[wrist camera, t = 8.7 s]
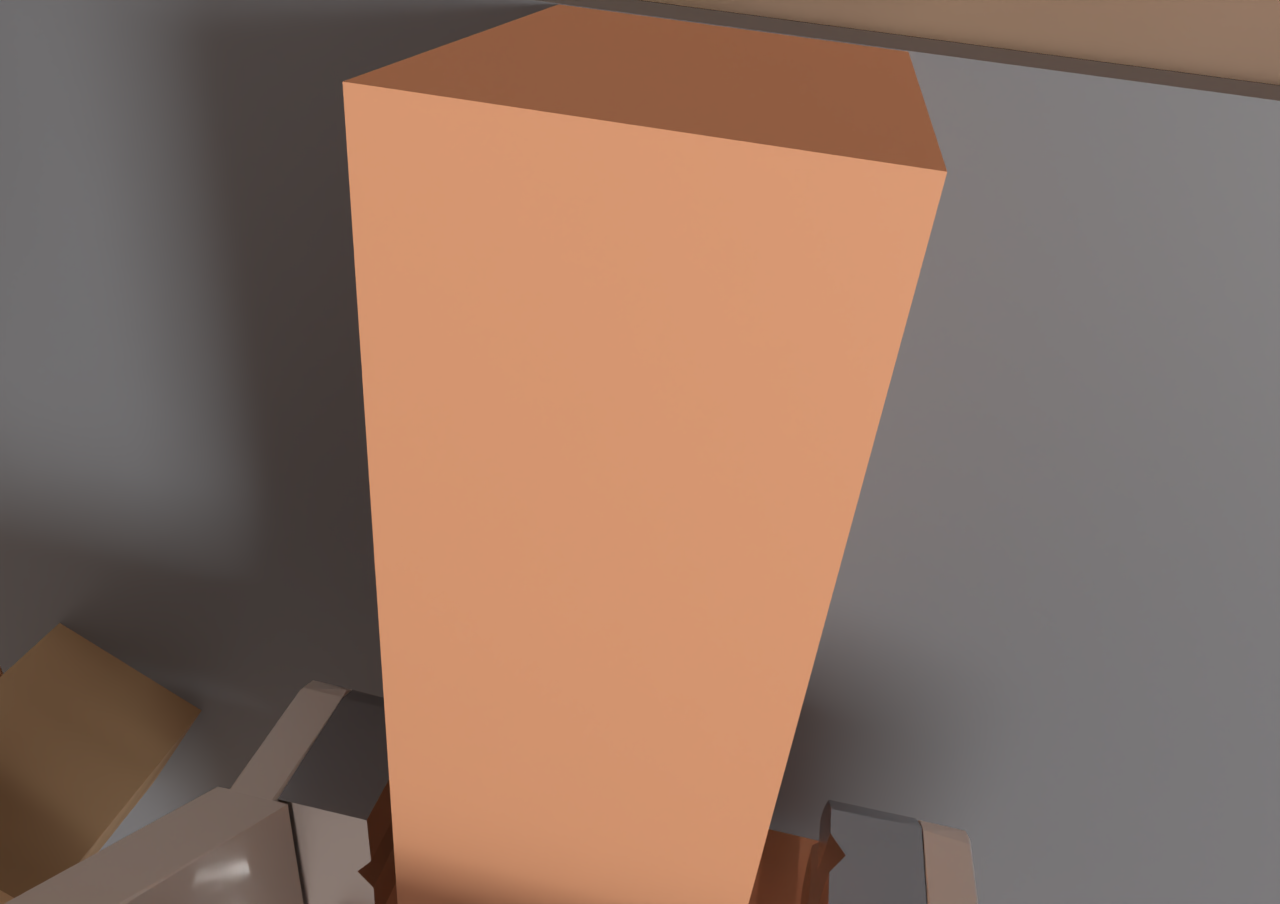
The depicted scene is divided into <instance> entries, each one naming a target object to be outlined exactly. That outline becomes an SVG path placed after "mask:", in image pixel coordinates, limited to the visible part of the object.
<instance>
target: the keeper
mask: <svg viewBox="0 0 1280 904" xmlns="http://www.w3.org/2000/svg"><path fill="white" fill-rule="evenodd" d="M201 711H202V710H200V709H198V708H197V707H195V706H193V705H192V704H190V703H189V702H187V701H185V700H184V699H182V698H180V697H179V696H177V695H176V694H174V693H172V692H171V691H169V690H168V689H166V688H164V687H163V686H161V685H159V684H158V683H156V682H155V681H153V680H151V679H150V678H148V677H147V676H145V675H143V674H142V673H140V672H138V671H137V670H135V669H134V668H132V667H130V666H129V665H127V664H125V663H124V662H122V661H121V660H119V659H117V658H116V657H114V656H113V655H111V654H109V653H108V652H106V651H104V650H103V649H101V648H100V647H98V646H96V645H95V644H93V643H92V642H90V641H88V640H87V639H85V638H83V637H82V636H80V635H79V634H77V633H75V632H74V631H72V630H70V629H69V628H67V627H66V626H64V625H62V624H61V623H59V624H58V625H57V626H56V627H55V628H54V629H52V630H51V631H50V632H49V633H48V634H47V635H46V636H45V637H44V638H43V639H41V640H40V641H39V642H38V643H37V644H36V645H35V646H34V647H33V648H32V649H30V650H29V651H28V652H27V653H26V654H25V655H24V656H23V657H22V658H21V659H19V660H18V661H17V662H16V663H15V664H14V665H13V666H12V667H11V668H10V669H8V670H7V671H6V672H5V673H4V674H3V675H2V676H1V677H0V904H4V903H6V902H8V901H10V900H12V899H13V898H15V897H17V896H19V895H21V894H23V893H24V892H26V891H28V890H30V889H32V888H34V887H35V886H37V885H39V884H41V883H43V882H45V881H46V880H48V879H50V878H52V877H54V876H55V875H57V874H59V873H61V872H63V871H65V870H66V869H68V868H70V867H72V866H74V865H76V864H77V863H79V862H81V861H83V860H85V859H86V858H88V857H90V856H92V855H94V854H96V853H97V852H99V850H100V849H101V848H102V847H103V845H104V844H105V843H106V842H107V840H108V839H109V838H110V837H111V835H112V834H113V833H114V832H115V830H116V829H117V828H118V827H119V825H120V824H121V823H122V822H123V820H124V819H125V818H126V817H127V815H128V814H129V813H130V811H131V810H132V809H133V808H134V806H135V805H136V804H137V803H138V801H139V800H140V799H141V798H142V796H143V795H144V794H145V793H146V791H147V790H148V789H149V788H150V786H151V785H152V784H153V783H154V781H155V780H156V778H157V777H158V775H159V774H160V772H161V771H162V769H163V768H164V766H165V765H166V763H167V762H168V760H169V759H170V757H171V756H172V754H173V753H174V751H175V750H176V748H177V747H178V745H179V744H180V742H181V741H182V739H183V738H184V736H185V735H186V733H187V732H188V730H189V729H190V727H191V726H192V724H193V723H194V721H195V720H196V718H197V717H198V715H199V714H200V712H201Z"/></svg>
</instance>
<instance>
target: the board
mask: <svg viewBox="0 0 1280 904" xmlns="http://www.w3.org/2000/svg"><path fill="white" fill-rule="evenodd" d="M558 4H560V5H567V6H574V7H582V8H589V9H597V10H604V11H611V12H619V13H626V14H634V15H641V16H648V17H656V18H663V19H671V20H678V21H685V22H693V23H700V24H708V25H715V26H723V27H730V28H737V29H745V30H752V31H760V32H767V33H774V34H782V35H789V36H797V37H804V38H811V39H819V40H826V41H834V42H841V43H848V44H856V45H863V46H871V47H878V48H886V49H893V50H900V51H908V52H909V55H910V58H911V61H912V64H913V67H914V70H915V74H916V77H917V80H918V83H919V86H920V89H921V92H922V95H923V98H924V101H925V104H926V108H927V111H928V114H929V117H930V120H931V123H932V126H933V129H934V132H935V135H936V138H937V142H938V145H939V148H940V151H941V154H942V157H943V160H944V163H945V166H946V169H947V175H946V178H945V182H944V186H943V189H942V193H941V197H940V201H939V204H938V208H937V212H936V215H935V219H934V223H933V226H932V230H931V234H930V237H929V241H928V245H927V248H926V252H925V256H924V259H923V263H922V267H921V270H920V274H919V278H918V282H917V285H916V289H915V293H914V296H913V300H912V304H911V307H910V311H909V315H908V318H907V322H906V326H905V329H904V333H903V337H902V340H901V344H900V348H899V351H898V355H897V359H896V362H895V366H894V370H893V374H892V377H891V381H890V385H889V388H888V392H887V396H886V399H885V403H884V407H883V410H882V414H881V418H880V421H879V425H878V429H877V432H876V436H875V440H874V443H873V447H872V451H871V454H870V458H869V462H868V466H867V469H866V473H865V477H864V480H863V484H862V488H861V491H860V495H859V499H858V502H857V506H856V510H855V513H854V517H853V521H852V524H851V528H850V532H849V535H848V539H847V543H846V546H845V550H844V554H843V558H842V561H841V565H840V569H839V572H838V576H837V580H836V583H835V587H834V591H833V594H832V598H831V602H830V605H829V609H828V613H827V616H826V620H825V624H824V627H823V631H822V635H821V638H820V642H819V646H818V650H817V653H816V657H815V661H814V664H813V668H812V672H811V675H810V679H809V683H808V686H807V690H806V694H805V697H804V701H803V705H802V708H801V712H800V716H799V719H798V723H797V727H796V730H795V734H794V738H793V742H792V745H791V749H790V753H789V756H788V760H787V764H786V767H785V771H784V775H783V778H782V782H781V786H780V789H779V793H778V797H777V800H776V804H775V808H774V811H773V815H772V819H771V823H770V826H769V829H770V830H775V831H779V832H783V833H787V834H792V835H796V836H800V837H804V838H809V839H813V840H817V841H819V830H820V819H821V816H822V813H823V810H824V807H825V805H826V803H827V801H828V800H833V801H837V802H842V803H847V804H851V805H856V806H861V807H865V808H870V809H874V810H879V811H884V812H888V813H893V814H898V815H902V816H907V817H912V818H916V820H917V821H919V820H921V821H925V822H929V823H934V824H938V825H942V826H947V827H951V828H955V829H960V830H964V831H966V833H967V835H968V837H969V839H970V841H971V849H972V857H973V865H974V873H975V881H976V889H977V898H978V904H1280V86H1279V85H1271V84H1264V83H1256V82H1248V81H1241V80H1233V79H1226V78H1218V77H1211V76H1203V75H1196V74H1188V73H1181V72H1173V71H1166V70H1158V69H1151V68H1143V67H1136V66H1128V65H1121V64H1113V63H1106V62H1098V61H1091V60H1083V59H1076V58H1068V57H1061V56H1053V55H1045V54H1038V53H1030V52H1023V51H1015V50H1008V49H1000V48H993V47H985V46H978V45H970V44H963V43H955V42H948V41H940V40H933V39H925V38H918V37H910V36H903V35H895V34H888V33H880V32H873V31H865V30H858V29H850V28H843V27H835V26H827V25H820V24H812V23H805V22H797V21H790V20H782V19H775V18H767V17H760V16H752V15H745V14H737V13H730V12H722V11H715V10H707V9H700V8H692V7H685V6H677V5H670V4H662V3H655V2H647V1H640V0H0V667H1V669H2V672H3V674H4V673H5V672H6V671H7V670H8V669H10V668H11V667H12V666H13V665H14V664H15V663H16V662H17V661H18V660H19V659H21V658H22V657H23V656H24V655H25V654H26V653H27V652H28V651H29V650H30V649H32V648H33V647H34V646H35V645H36V644H37V643H38V642H39V641H40V640H41V639H43V638H44V637H45V636H46V635H47V634H48V633H49V632H50V631H51V630H52V629H54V628H55V627H56V626H57V625H58V624H59V623H61V624H62V625H64V626H66V627H67V628H69V629H70V630H72V631H74V632H75V633H77V634H79V635H80V636H82V637H83V638H85V639H87V640H88V641H90V642H92V643H93V644H95V645H96V646H98V647H100V648H101V649H103V650H104V651H106V652H108V653H109V654H111V655H113V656H114V657H116V658H117V659H119V660H121V661H122V662H124V663H125V664H127V665H129V666H130V667H132V668H134V669H135V670H137V671H138V672H140V673H142V674H143V675H145V676H147V677H148V678H150V679H151V680H153V681H155V682H156V683H158V684H159V685H161V686H163V687H164V688H166V689H168V690H169V691H171V692H172V693H174V694H176V695H177V696H179V697H180V698H182V699H184V700H185V701H187V702H189V703H190V704H192V705H193V706H195V707H197V708H198V709H200V710H202V711H201V712H200V714H199V715H198V717H197V718H196V720H195V721H194V723H193V724H192V726H191V727H190V729H189V730H188V732H187V733H186V735H185V736H184V738H183V739H182V741H181V742H180V744H179V745H178V747H177V748H176V750H175V751H174V753H173V754H172V756H171V757H170V759H169V760H168V762H167V763H166V765H165V766H164V768H163V769H162V771H161V772H160V774H159V775H158V777H157V778H156V780H155V781H154V783H153V784H152V785H151V786H150V788H149V789H148V790H147V791H146V793H145V794H144V795H143V796H142V798H141V799H140V800H139V801H138V803H137V804H136V805H135V806H134V808H133V809H132V810H131V811H130V813H129V814H128V815H127V817H126V818H125V819H124V820H123V822H122V823H121V824H120V825H119V827H118V828H117V829H116V830H115V832H114V833H113V834H112V835H111V837H110V838H109V839H108V840H107V842H106V843H105V844H104V845H103V847H102V848H101V849H100V850H99V851H101V850H103V849H105V848H107V847H108V846H110V845H112V844H114V843H116V842H118V841H119V840H121V839H123V838H125V837H127V836H128V835H130V834H132V833H134V832H136V831H138V830H139V829H141V828H143V827H145V826H147V825H149V824H150V823H152V822H154V821H156V820H158V819H159V818H161V817H163V816H165V815H167V814H169V813H170V812H172V811H174V810H176V809H178V808H180V807H181V806H183V805H185V804H187V803H189V802H190V801H192V800H194V799H196V798H198V797H200V796H201V795H203V794H205V793H207V792H209V791H211V790H212V789H214V788H216V787H222V788H227V789H230V788H231V787H232V785H233V784H234V782H235V781H236V780H237V778H238V777H239V775H240V774H241V773H242V771H243V770H244V768H245V767H246V765H247V764H248V763H249V761H250V760H251V758H252V757H253V756H254V754H255V753H256V751H257V750H258V749H259V747H260V746H261V744H262V743H263V742H264V740H265V739H266V737H267V736H268V734H269V733H270V732H271V730H272V729H273V727H274V726H275V725H276V723H277V722H278V720H279V719H280V718H281V716H282V715H283V713H284V712H285V710H286V709H287V708H288V706H289V705H290V703H291V702H292V701H293V699H294V698H295V696H296V695H297V694H298V692H299V691H300V690H301V689H302V688H303V687H305V686H306V685H307V684H309V683H310V682H311V681H313V680H314V681H318V682H323V683H327V684H331V685H335V686H339V687H343V688H347V689H351V690H356V691H360V692H364V693H368V694H371V695H375V696H379V697H383V698H384V694H383V679H382V664H381V649H380V634H379V619H378V604H377V589H376V574H375V559H374V544H373V529H372V514H371V499H370V484H369V469H368V454H367V439H366V425H365V410H364V395H363V380H362V365H361V350H360V335H359V320H358V305H357V290H356V275H355V260H354V245H353V230H352V215H351V200H350V185H349V170H348V156H347V141H346V126H345V111H344V96H343V81H345V80H348V79H351V78H354V77H357V76H359V75H362V74H365V73H368V72H371V71H373V70H376V69H379V68H382V67H385V66H387V65H390V64H393V63H396V62H399V61H401V60H404V59H407V58H410V57H413V56H415V55H418V54H421V53H424V52H427V51H429V50H432V49H435V48H438V47H441V46H443V45H446V44H449V43H452V42H455V41H457V40H460V39H463V38H466V37H469V36H471V35H474V34H477V33H480V32H483V31H485V30H488V29H491V28H494V27H497V26H499V25H502V24H505V23H508V22H511V21H513V20H516V19H519V18H522V17H525V16H527V15H530V14H533V13H536V12H539V11H541V10H544V9H547V8H550V7H553V6H555V5H558Z"/></svg>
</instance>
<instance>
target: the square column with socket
mask: <svg viewBox="0 0 1280 904" xmlns="http://www.w3.org/2000/svg"><path fill="white" fill-rule="evenodd" d="M343 96H344V111H345V126H346V141H347V156H348V170H349V185H350V200H351V215H352V230H353V245H354V260H355V275H356V290H357V305H358V320H359V335H360V350H361V365H362V380H363V395H364V410H365V425H366V439H367V454H368V469H369V484H370V499H371V514H372V529H373V544H374V559H375V574H376V589H377V604H378V619H379V634H380V649H381V664H382V679H383V694H384V708H385V723H386V738H387V753H388V768H389V783H390V798H391V813H392V828H393V843H394V858H395V873H396V883H395V886H394V888H393V890H392V892H391V894H390V896H389V898H388V900H387V902H386V904H801V895H802V887H803V882H804V877H805V872H806V866H807V862H808V859H809V855H810V851H811V848H812V845H814V844H816V843H818V842H819V841H817V840H813V839H809V838H804V837H800V836H796V835H792V834H787V833H783V832H779V831H775V830H770V829H769V826H770V823H771V819H772V815H773V811H774V808H775V804H776V800H777V797H778V793H779V789H780V786H781V782H782V778H783V775H784V771H785V767H786V764H787V760H788V756H789V753H790V749H791V745H792V742H793V738H794V734H795V730H796V727H797V723H798V719H799V716H800V712H801V708H802V705H803V701H804V697H805V694H806V690H807V686H808V683H809V679H810V675H811V672H812V668H813V664H814V661H815V657H816V653H817V650H818V646H819V642H820V638H821V635H822V631H823V627H824V624H825V620H826V616H827V613H828V609H829V605H830V602H831V598H832V594H833V591H834V587H835V583H836V580H837V576H838V572H839V569H840V565H841V561H842V558H843V554H844V550H845V546H846V543H847V539H848V535H849V532H850V528H851V524H852V521H853V517H854V513H855V510H856V506H857V502H858V499H859V495H860V491H861V488H862V484H863V480H864V477H865V473H866V469H867V466H868V462H869V458H870V454H871V451H872V447H873V443H874V440H875V436H876V432H877V429H878V425H879V421H880V418H881V414H882V410H883V407H884V403H885V399H886V396H887V392H888V388H889V385H890V381H891V377H892V374H893V370H894V366H895V362H896V359H897V355H898V351H899V348H900V344H901V340H902V337H903V333H904V329H905V326H906V322H907V318H908V315H909V311H910V307H911V304H912V300H913V296H914V293H915V289H916V285H917V282H918V278H919V274H920V270H921V267H922V263H923V259H924V256H925V252H926V248H927V245H928V241H929V237H930V234H931V230H932V226H933V223H934V219H935V215H936V212H937V208H938V204H939V201H940V197H941V193H942V189H943V186H944V182H945V178H946V175H947V169H946V166H945V163H944V160H943V157H942V154H941V151H940V148H939V145H938V142H937V138H936V135H935V132H934V129H933V126H932V123H931V120H930V117H929V114H928V111H927V108H926V104H925V101H924V98H923V95H922V92H921V89H920V86H919V83H918V80H917V77H916V74H915V70H914V67H913V64H912V61H911V58H910V55H909V52H908V51H900V50H893V49H886V48H878V47H871V46H863V45H856V44H848V43H841V42H834V41H826V40H819V39H811V38H804V37H797V36H789V35H782V34H774V33H767V32H760V31H752V30H745V29H737V28H730V27H723V26H715V25H708V24H700V23H693V22H685V21H678V20H671V19H663V18H656V17H648V16H641V15H634V14H626V13H619V12H611V11H604V10H597V9H589V8H582V7H574V6H567V5H560V4H558V5H555V6H553V7H550V8H547V9H544V10H541V11H539V12H536V13H533V14H530V15H527V16H525V17H522V18H519V19H516V20H513V21H511V22H508V23H505V24H502V25H499V26H497V27H494V28H491V29H488V30H485V31H483V32H480V33H477V34H474V35H471V36H469V37H466V38H463V39H460V40H457V41H455V42H452V43H449V44H446V45H443V46H441V47H438V48H435V49H432V50H429V51H427V52H424V53H421V54H418V55H415V56H413V57H410V58H407V59H404V60H401V61H399V62H396V63H393V64H390V65H387V66H385V67H382V68H379V69H376V70H373V71H371V72H368V73H365V74H362V75H359V76H357V77H354V78H351V79H348V80H345V81H343Z"/></svg>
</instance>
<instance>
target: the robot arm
mask: <svg viewBox="0 0 1280 904" xmlns="http://www.w3.org/2000/svg"><path fill="white" fill-rule="evenodd" d="M395 883H396V873H395V858H394V843H393V828H392V813H391V798H390V783H389V768H388V753H387V738H386V723H385V708H384V698H383V697H379V696H375V695H371V694H368V693H364V692H360V691H356V690H351V689H347V688H343V687H339V686H335V685H331V684H327V683H323V682H318V681H314V680H313V681H311V682H310V683H309V684H307V685H306V686H305V687H303V688H302V689H301V690H300V691H299V692H298V694H297V695H296V696H295V698H294V699H293V701H292V702H291V703H290V705H289V706H288V708H287V709H286V710H285V712H284V713H283V715H282V716H281V718H280V719H279V720H278V722H277V723H276V725H275V726H274V727H273V729H272V730H271V732H270V733H269V734H268V736H267V737H266V739H265V740H264V742H263V743H262V744H261V746H260V747H259V749H258V750H257V751H256V753H255V754H254V756H253V757H252V758H251V760H250V761H249V763H248V764H247V765H246V767H245V768H244V770H243V771H242V773H241V774H240V775H239V777H238V778H237V780H236V781H235V782H234V784H233V785H232V787H231V788H230V789H227V788H222V787H216V788H214V789H212V790H211V791H209V792H207V793H205V794H203V795H201V796H200V797H198V798H196V799H194V800H192V801H190V802H189V803H187V804H185V805H183V806H181V807H180V808H178V809H176V810H174V811H172V812H170V813H169V814H167V815H165V816H163V817H161V818H159V819H158V820H156V821H154V822H152V823H150V824H149V825H147V826H145V827H143V828H141V829H139V830H138V831H136V832H134V833H132V834H130V835H128V836H127V837H125V838H123V839H121V840H119V841H118V842H116V843H114V844H112V845H110V846H108V847H107V848H105V849H103V850H101V851H99V852H97V853H96V854H94V855H92V856H90V857H88V858H86V859H85V860H83V861H81V862H79V863H77V864H76V865H74V866H72V867H70V868H68V869H66V870H65V871H63V872H61V873H59V874H57V875H55V876H54V877H52V878H50V879H48V880H46V881H45V882H43V883H41V884H39V885H37V886H35V887H34V888H32V889H30V890H28V891H26V892H24V893H23V894H21V895H19V896H17V897H15V898H13V899H12V900H10V901H8V902H6V903H4V904H386V902H387V900H388V898H389V896H390V894H391V892H392V890H393V888H394V886H395ZM801 904H978V898H977V889H976V881H975V873H974V865H973V857H972V849H971V841H970V839H969V837H968V835H967V833H966V831H964V830H960V829H955V828H951V827H947V826H942V825H938V824H934V823H929V822H925V821H921V820H919V821H917V820H916V818H912V817H907V816H902V815H898V814H893V813H888V812H884V811H879V810H874V809H870V808H865V807H861V806H856V805H851V804H847V803H842V802H837V801H833V800H828V801H827V803H826V805H825V807H824V810H823V813H822V816H821V819H820V830H819V842H818V843H816V844H814V845H812V848H811V851H810V855H809V859H808V862H807V866H806V872H805V877H804V882H803V887H802V895H801Z"/></svg>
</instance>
